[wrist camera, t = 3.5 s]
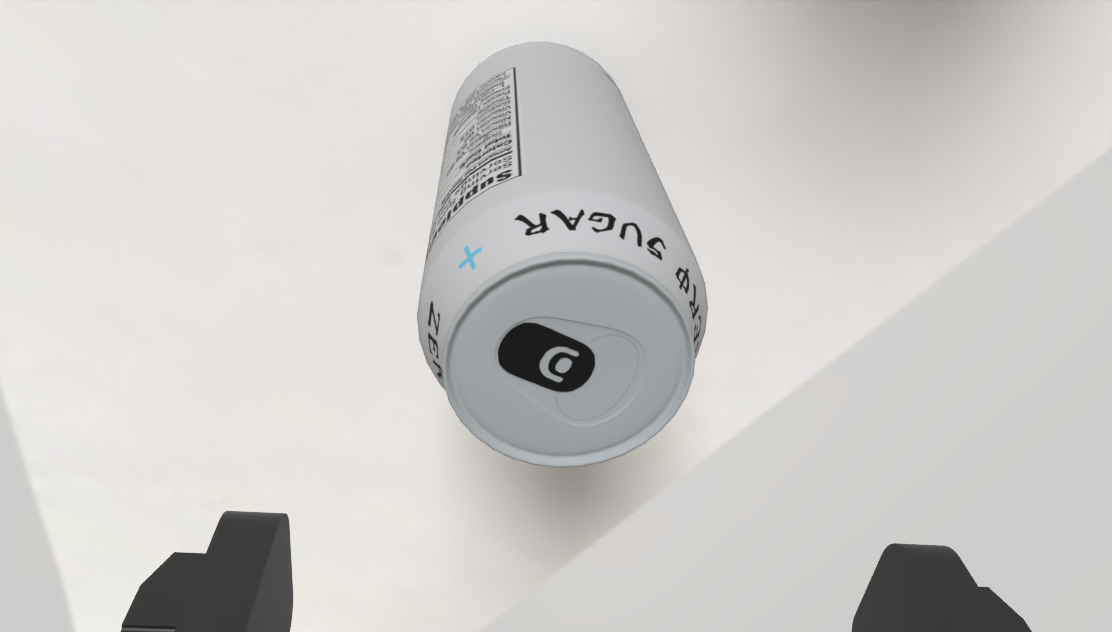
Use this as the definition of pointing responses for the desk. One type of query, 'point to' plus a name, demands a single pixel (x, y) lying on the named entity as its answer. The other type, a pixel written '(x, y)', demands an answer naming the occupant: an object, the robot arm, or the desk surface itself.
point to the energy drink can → (556, 266)
